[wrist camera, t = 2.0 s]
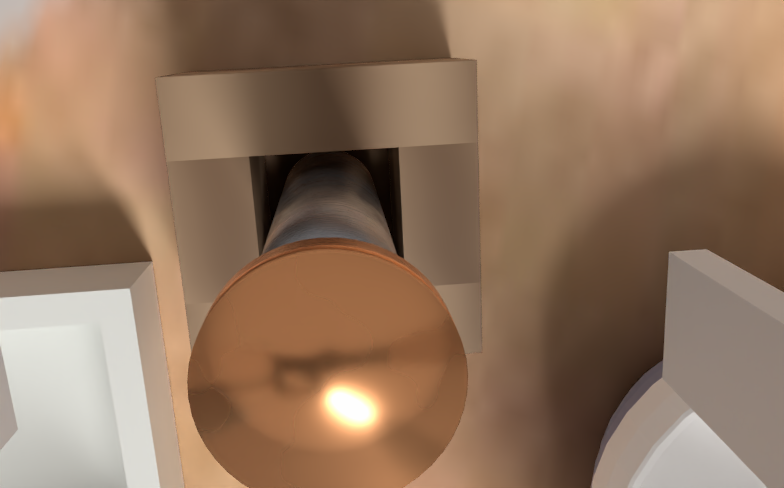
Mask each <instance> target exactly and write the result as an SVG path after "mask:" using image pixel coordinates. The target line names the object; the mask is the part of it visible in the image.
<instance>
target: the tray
mask: <svg viewBox="0 0 784 488" xmlns="http://www.w3.org/2000/svg"><path fill="white" fill-rule="evenodd" d="M0 346H1V351H2V355H3V360H4V365H5V370H6V374H7V379H8V384H9V389H10V394H11V398H12V403H13V408H14V413H15V417H16V422H17V427H18V430H17V431H16V432H15V434H14V435H13V436H12V437H11V438H10V440H9V441H8V442H7V443H6V444H5V446H4V447H3V448H2V449H1V450H0V488H185V487H184V480H183V473H182V466H181V459H180V452H179V445H178V438H177V431H176V424H175V417H174V410H173V403H172V396H171V389H170V382H169V375H168V368H167V361H166V354H165V347H164V340H163V333H162V326H161V319H160V312H159V305H158V298H157V291H156V284H155V277H154V270H153V263H152V261H149V262H135V263H121V264H107V265H93V266H78V267H64V268H50V269H36V270H22V271H8V272H0Z"/></svg>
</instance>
